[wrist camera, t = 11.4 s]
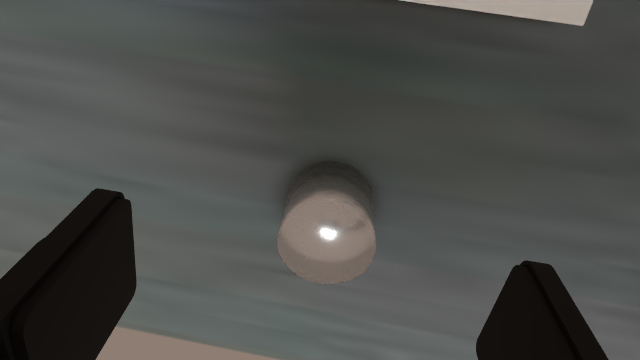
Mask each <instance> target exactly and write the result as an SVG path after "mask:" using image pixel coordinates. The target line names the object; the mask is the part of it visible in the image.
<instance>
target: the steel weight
mask: <svg viewBox="0 0 640 360" xmlns="http://www.w3.org/2000/svg"><path fill="white" fill-rule="evenodd" d="M278 251H279V254H280V256H281V258H282V260H283V262H284V263H285V264H286V266H287V267H288V268H289V269H290V270H291V271H293V272H294V273H295V274H297V275H298V276H300V277H302V278H304V279H307V280H309V281H313V282H317V283H324V284H334V283H341V282H345V281H348V280H351V279H353V278H355V277H357V276H359V275H360V274H361V273H363V272H364V271H365V270H366V269H367V268H368V267H369V265H370V264H371V262H372V260H373V258H374V256H375V251H376V237H375V224H374V210H373V197H372V190H371V188H370V185H369V183H368V181H367V180H366V179H365V177H364V176H363V175H362V174H361V173H360V172H358V171H357V170H356V169H354V168H353V167H350V166H348V165H346V164H343V163H338V162H321V163H317V164H313V165H311V166H309V167H307V168H305V169H304V170H302V171H301V172H300V173H299V174H298V175H297V176H296V177H295V179H294V180H293V182H292V184H291V187H290V190H289V194H288V198H287V202H286V206H285V210H284V214H283V218H282V222H281V226H280V230H279V234H278Z"/></svg>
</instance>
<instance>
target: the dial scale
mask: <svg viewBox="0 0 640 360" xmlns="http://www.w3.org/2000/svg"><path fill="white" fill-rule="evenodd" d="M401 1H408V2H415V3H422V4H429V5H437V6H444V7H451V8H458V9H465V10H472V11H480V12H487V13H494V14H501V15H508V16H516V17H523V18H530V19H537V20H544V21H551V22H559V23H566V24H573V25H580V26H583V25H584V23H585V20H586V18H587V15H588V13H589V10H590V8H591V5H592V3H593V0H401Z"/></svg>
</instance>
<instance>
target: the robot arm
mask: <svg viewBox="0 0 640 360" xmlns="http://www.w3.org/2000/svg"><path fill="white" fill-rule="evenodd" d="M135 290H136V268H135V254H134V239H133V224H132V210H131V202H130V200H127V199H125V198H124V195H123V193H121V192H116V191H111V190H105V189H99V188H98V189H95V190H93V191H92V192H91V193H90V194H89V195H88V196H87V197H86V198H85V199H84V200H83V201H82V202H81V203H80V204H79V205H78V206H77V207H76V208H75V209H74V210H73V211H72V212H71V213H70V214H69V215H68V216H67V217H66V218H65V219H64V220H63V221H62V222H61V223H60V224H59V225H58V226H57V227H56V228H55V229H54V230H53V231H52V232H51V233H50V234H49V235H48V236H47V237H45V238H43V239H42V240H41V241H39V242H38V243H37V244H36V245H35V246H34V247H33V248H32V249H31V250H30V251H29V252H28V253H27V254H26V255H25V256H24V257H22V258H21V259H20V260H19V261H18V262H17V263H16V264H15V265H14V266H13V267H12V268H11V269H10V270H9V271H8V272H7V273H6V274H5V275H4V276H3V277H2V278H1V279H0V360H95V359H96V358H97V356H98V354H99V353H100V351H101V349H102V348H103V346H104V344H105V343H106V341H107V339H108V338H109V336H110V334H111V333H112V331H113V329H114V328H115V326H116V325H117V323H118V321H119V320H120V318H121V316H122V315H123V313H124V311H125V310H126V308H127V306H128V305H129V303H130V301H131V300H132V298H133V296H134V293H135ZM476 353H477V357H478V360H608V358H607V356H606V355H605V353H604V351H603V350H602V348H601V346H600V345H599V343H598V341H597V340H596V338H595V336H594V335H593V333H592V331H591V330H590V328H589V326H588V325H587V323H586V321H585V320H584V318H583V316H582V315H581V313H580V311H579V310H578V308H577V306H576V305H575V303H574V301H573V300H572V298H571V296H570V295H569V293H568V291H567V290H566V288H565V286H564V285H563V283H562V281H561V280H560V278H559V276H558V275H557V273H556V271H555V270H554V268H553V267H552V266H551V265H549V264H544V263H538V262H532V261H523V262H522V263H521V264H520V265H515V266H514V267H513V269H512V270H511V272H510V274H509V276H508V278H507V280H506V283H505V285H504V287H503V289H502V291H501V293H500V295H499V297H498V299H497V301H496V303H495V305H494V307H493V309H492V311H491V313H490V315H489V317H488V319H487V321H486V323H485V325H484V327H483V329H482V331H481V333H480V335H479V337H478V339H477V343H476Z"/></svg>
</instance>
